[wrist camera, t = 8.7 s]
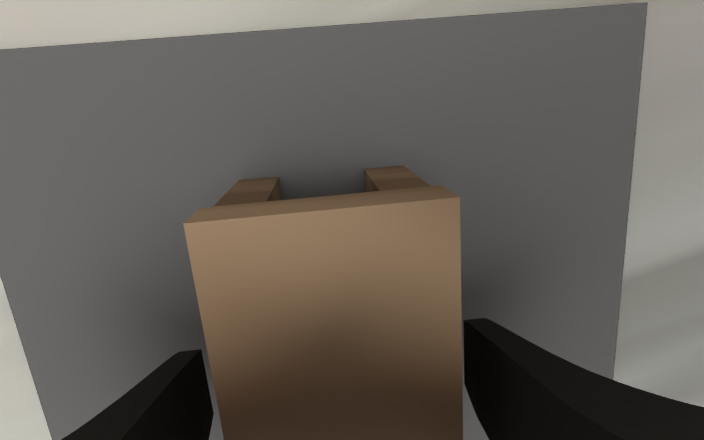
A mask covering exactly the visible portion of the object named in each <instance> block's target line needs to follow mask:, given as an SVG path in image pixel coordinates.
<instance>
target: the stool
mask: <svg viewBox="0 0 704 440" xmlns="http://www.w3.org/2000/svg"><path fill="white" fill-rule="evenodd" d="M364 175H365V189H366V192H364V193H353V194H342V195H332V196H321V197H310V198H299V199H289V200H282V198H281V190H280V182H279V177H267V178H256V179H245V180H239V181H238V182H237V183H236V184H235V185H234V186H233V187H232V188H231V189H230V190H229V191H228V192H227V193H226V194H225V195H224V196H223V197H222V198H221V199H220V200H219V201H218V202H217V203H216V204H215V205H214V206H213V207H203V208H200V209H199V210H197V211H196V212H195V213H194V214H193V215H192V216H191V217H190V218H189V219H188V220H187V221H185V222H184V223H183V225H184V231H185V236H186V241H187V246H188V252H189V257H190V262H191V268H192V273H193V278H194V284H195V289H196V294H197V299H198V305H199V310H200V315H201V321H202V326H203V331H204V337H205V342H206V347H207V352H208V358H209V363H210V368H211V374H212V379H213V384H214V389H215V395H216V400H217V405H218V411H219V416H220V421H221V427H222V432H223V437H224V440H463V387H462V311H461V235H460V197H459V196H457V195H456V194H454V193H453V192H451V191H450V190H448V189H447V188H445V187H444V186H442V185H439V186H430V185H429V184H427V183H426V182H425V181H423V180H422V179H421V178H419V177H418V176H417V175H415V174H414V173H413V172H411V171H410V170H409V169H407V168H406V167H404V166H403V165H400V166H389V167H378V168H367V169H364Z"/></svg>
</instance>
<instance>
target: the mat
mask: <svg viewBox="0 0 704 440" xmlns="http://www.w3.org/2000/svg"><path fill="white" fill-rule="evenodd" d="M647 5H648V3H634V4H621V5H607V6H593V7H580V8H566V9H552V10H538V11H525V12H511V13H497V14H484V15H470V16H456V17H443V18H429V19H415V20H402V21H388V22H374V23H360V24H347V25H333V26H319V27H306V28H292V29H278V30H265V31H251V32H237V33H224V34H210V35H196V36H182V37H169V38H155V39H141V40H128V41H114V42H100V43H87V44H73V45H59V46H46V47H32V48H18V49H4V50H0V276H1V279H2V282H3V285H4V289H5V292H6V295H7V298H8V301H9V304H10V308H11V311H12V314H13V317H14V320H15V323H16V327H17V330H18V333H19V336H20V339H21V342H22V346H23V349H24V352H25V355H26V358H27V361H28V365H29V368H30V371H31V374H32V377H33V380H34V384H35V387H36V390H37V393H38V396H39V399H40V403H41V406H42V409H43V412H44V415H45V418H46V422H47V425H48V428H49V431H50V434H51V437H52V440H61V439H63V438H64V437H66V436H67V435H69V434H70V433H72V432H73V431H75V430H76V429H78V428H79V427H81V426H82V425H84V424H85V423H87V422H88V421H89V420H91V419H92V418H93V417H95V416H96V415H97V414H99V413H100V412H102V411H103V410H104V409H106V408H107V407H108V406H110V405H111V404H112V403H114V402H115V401H116V400H118V399H119V398H120V397H122V396H123V395H124V394H125V393H127V392H128V391H129V390H130V389H132V388H133V387H134V386H135V385H137V384H138V383H139V382H140V381H142V380H143V379H144V378H145V377H147V376H148V375H149V374H150V373H151V372H153V371H154V370H155V369H156V368H158V367H159V366H160V365H161V364H163V363H164V362H165V361H166V360H168V359H169V358H170V357H172V356H173V355H174V354H176V353H177V352H181V351H190V350H199V349H201V350H202V355H203V361H204V366H205V371H206V376H207V381H208V386H209V392H210V397H211V402H212V407H213V412H214V415H213V420H212V426H211V431H210V436H209V440H224V437H223V432H222V427H221V421H220V416H219V411H218V405H217V400H216V395H215V389H214V384H213V379H212V374H211V368H210V363H209V358H208V352H207V347H206V342H205V337H204V331H203V326H202V321H201V315H200V310H199V305H198V299H197V294H196V289H195V284H194V278H193V273H192V268H191V262H190V257H189V252H188V246H187V241H186V236H185V231H184V225H183V223H184V222H185V221H187V220H188V219H189V218H190V217H191V216H192V215H193V214H194V213H195V212H196V211H197V210H199V209H200V208H203V207H213V206H214V205H215V204H216V203H217V202H218V201H219V200H220V199H221V198H222V197H223V196H224V195H225V194H226V193H227V192H228V191H229V190H230V189H231V188H232V187H233V186H234V185H235V184H236V183H237V182H238V181H239V180H245V179H256V178H267V177H279V182H280V190H281V198H282V200H289V199H299V198H310V197H321V196H332V195H342V194H353V193H364V192H366V189H365V175H364V169H367V168H378V167H389V166H400V165H403V166H404V167H406V168H407V169H409V170H410V171H411V172H413V173H414V174H415V175H417V176H418V177H419V178H421V179H422V180H423V181H425V182H426V183H427V184H429V185H430V186H439V185H442V186H444V187H445V188H447V189H448V190H450V191H451V192H453V193H454V194H456V195H457V196H459V197H460V235H461V311H462V387H463V440H489V438H488V437H487V435H486V433H485V431H484V429H483V427H482V425H481V424H480V422H479V420H478V418H477V416H476V413H475V411H474V408H473V406H472V403H471V401H470V398H469V395H468V392H467V390H466V387H465V384H464V320H469V319H478V318H487V319H489V320H491V321H493V322H495V323H497V324H499V325H501V326H503V327H504V328H506V329H508V330H510V331H512V332H513V333H515V334H517V335H519V336H520V337H522V338H524V339H526V340H528V341H530V342H531V343H533V344H535V345H537V346H539V347H541V348H543V349H545V350H546V351H548V352H550V353H552V354H554V355H556V356H558V357H560V358H563V359H565V360H567V361H569V362H571V363H573V364H575V365H577V366H580V367H582V368H584V369H586V370H589V371H591V372H593V373H596V374H599V375H601V376H604V377H606V378H609V379H612V380H613V374H614V363H615V352H616V341H617V330H618V319H619V309H620V298H621V287H622V276H623V265H624V254H625V243H626V233H627V222H628V211H629V200H630V189H631V178H632V167H633V157H634V146H635V135H636V124H637V113H638V102H639V91H640V81H641V70H642V59H643V48H644V37H645V26H646V15H647Z"/></svg>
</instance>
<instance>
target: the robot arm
mask: <svg viewBox="0 0 704 440" xmlns="http://www.w3.org/2000/svg"><path fill="white" fill-rule="evenodd" d="M464 384H465V387H466V390H467V392H468V395H469V398H470V401H471V403H472V406H473V408H474V411H475V413H476V416H477V418H478V420H479V422H480V424H481V425H482V427H483V429H484V431H485V433H486V435H487V437H488V438H489V440H704V407H700V406H696V405H691V404H688V403H684V402H680V401H676V400H673V399H669V398H666V397H662V396H659V395H656V394H653V393H649V392H646V391H643V390H640V389H637V388H634V387H631V386H628V385H625V384H622V383H619V382H617V381H614V380H612V379H609V378H606V377H604V376H601V375H599V374H596V373H593V372H591V371H589V370H586V369H584V368H582V367H580V366H577V365H575V364H573V363H571V362H569V361H567V360H565V359H563V358H560V357H558V356H556V355H554V354H552V353H550V352H548V351H546V350H545V349H543V348H541V347H539V346H537V345H535V344H533V343H531V342H530V341H528V340H526V339H524V338H522V337H520V336H519V335H517V334H515V333H513V332H512V331H510V330H508V329H506V328H504V327H503V326H501V325H499V324H497V323H495V322H493V321H491V320H489V319H487V318H478V319H469V320H464ZM213 415H214V412H213V407H212V402H211V397H210V392H209V386H208V381H207V376H206V371H205V366H204V361H203V355H202V350H201V349H199V350H190V351H181V352H177V353H176V354H174V355H173V356H172V357H170V358H169V359H168V360H166V361H165V362H164V363H163V364H161V365H160V366H159V367H158V368H156V369H155V370H154V371H153V372H151V373H150V374H149V375H148V376H147V377H145V378H144V379H143V380H142V381H140V382H139V383H138V384H137V385H135V386H134V387H133V388H132V389H130V390H129V391H128V392H127V393H125V394H124V395H123V396H122V397H120V398H119V399H118V400H116V401H115V402H114V403H112V404H111V405H110V406H108V407H107V408H106V409H104V410H103V411H102V412H100V413H99V414H97V415H96V416H95V417H93V418H92V419H91V420H89V421H88V422H87V423H85V424H84V425H82V426H81V427H79V428H78V429H76V430H75V431H73V432H72V433H70V434H69V435H67V436H66V437H64V438H63V439H61V440H209V436H210V431H211V426H212V420H213Z"/></svg>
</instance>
